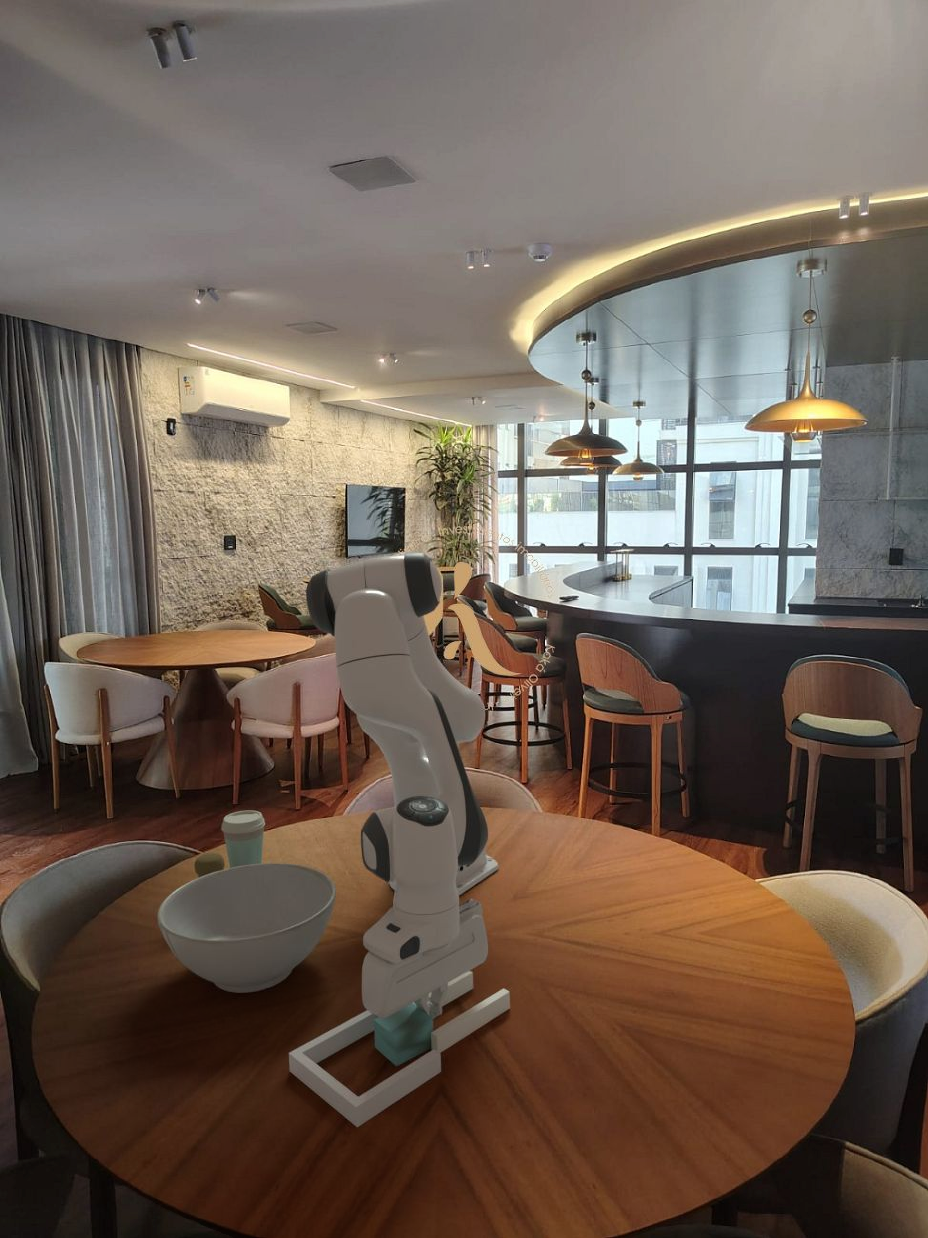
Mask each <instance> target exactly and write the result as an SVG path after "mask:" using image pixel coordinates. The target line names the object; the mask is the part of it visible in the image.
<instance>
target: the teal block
mask: <svg viewBox="0 0 928 1238" xmlns="http://www.w3.org/2000/svg"><path fill="white" fill-rule="evenodd" d="M433 1031H434V1019H433V1018H432V1017H431V1016H429V1015H428V1014H427V1013H425V1012H424V1011H422V1010H421V1009H420V1008H418V1007H417V1006H416V1005H414V1004H413V1003H411V1004H409V1005H408V1006H406V1007H404V1008H402V1009H401V1010H399V1011H397V1012H395V1013H394V1014H392V1015H390V1016H388V1017H387V1018H385V1019H381V1018H379V1017H377V1018H376V1019H374V1031H373V1032H374V1048H375V1050H377V1051H378V1052H379V1053H380V1054H382V1055H383V1056H384V1057H385V1058H386V1059H387V1060H388V1061H390V1062H391V1063H392V1064H393V1065H394V1066H396V1067H398V1066H400V1065H402V1064H403V1063H404V1064H405V1062H408V1061H409V1060H411V1059H413V1058H415V1057H417V1056H419V1055H421V1054H422V1053H425V1052H427V1051H428V1050H430V1049H432V1046H431V1032H433Z"/></svg>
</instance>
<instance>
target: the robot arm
mask: <svg viewBox="0 0 928 1238" xmlns="http://www.w3.org/2000/svg"><path fill="white" fill-rule="evenodd" d="M442 584H443V583H442V577H441V575H440V571H439V570H438V568H437V566H436V564H435V563H434V562H433V559H432V558H431V557H430V556H428V555H427V554H425V553H424V552H420V551H419V552H415V551H411V552H410V551H409V552H408V551H406V552H405V553H404V554H395V555H385V556H377V557H372V558H371V557H370V558H366V559H365V560H361V561H356V562H353V563H350V564H347V565H343V566H340V567H337V568H334V569H330V568H328V569H325V570H323V571H320V572H318V573H316V574H314V575H312V576H311V578H310V579H309V580H308V583H307V585H306V588H305V590H306V592H305V594H306V595H305V605H306V609H307V612H308V615H309V617H310V619H311V621H312V623H313V625H314V626H315V627H316V629H318V630H319V631H321V632H323V633H325V634H330V635H331V636H332V637H334V652H335V662H336V663H335V664H336V670H337V671H336V672H337V677H338V683H339V688H340V691H341V695H342V698H343V701H344V702H345V704H346V705H347V707H348V708H349V709H350V710H351V711H352V712H353V713H354V714H356V718H357V719H356V720H357V723H358V724H359V726H360V728H361V730H362V731H363V732H364V733H365V734H367V735H368V736H369V737H370V738H371V739H372V740H373V741H374V742H375V743H376V745H377V746H378V747H379V749H380V751H381V752H382V754H383V755H384V758H385V759H386V762H387V764H388V768H389V770H390V773H391V780H392V787H393V797H394V798H393V801H394V806H392V807H388V808H382V809H380V810H377V811H374V812H372V813H370V815H369V816H368V818H367V819H366V820H365V822H364V823H363V826H362V828H361V829H360V847H361V849H360V850H361V859H362V863H363V865H364V867H365V868H366V870H367V871H369V872H370V873H371V874H373V875H375V876H376V877H377V878H379V879H381V880H383V881H384V882H386V883H388V884H389V886H390V887H391V889H392V890H394V896H393V900H392V901H393V906H391V907H390V908H389V909H388V911H387V912H386V913H385V914H383V916H382V917H380V919H379V920H378V921H377V922H375V923H374V925H372V926H370V928H369V929H368V930H366V931H365V933H364V935H362V936H363V938H362V943H363V946H364V948H365V949H366V950H368V952H367V953H366V954H365V956H364V959H363V962H362V967H361V999H362V1005H363V1006H364V1008H365V1009H366V1011H367V1010H368V1011H369V1012H371V1013H372V1014H374V1015H376V1016H377V1018H378V1017H379V1018H381V1019H385V1018H387V1017H388V1016H390V1015H392V1014H394V1013H395V1012H397V1011H399V1010H401V1009H402V1008H404V1007H406V1006H408V1005H409V1004H411V1003H413V1002H414V1003H415V1004H416V1006H417V1007H418V1008H420V1009H421V1010H422V1011H424V1012H425V1013H427V1014H428V1015H429V1016H431V1017H432V1018H433V1020H434V1019H436V1018H437V1017H439V1016H440V1015H442V1014H443V1006H442V1002H443V1000H444V998H445V995H446V992H447V990H448V982H450V981H452V980H453V979H455V978H457V977H459V976H461V975H462V974H464V973H466V972H468V971H472V969H475V968H476V967H478V966H479V965H481V964H483V963H484V962H485V961H486V959H487V957H488V955H489V945H488V944H489V943H488V937H487V930H486V924H485V922H484V921H485V920H484V919H483V905H482V904H481V902H480V901H479V900H476V899H474V898H470V899H469V898H468V899H467V900H465V901H464V902H462V903H460V895H462V894H464V893H465V892H466V891H468V890H469V889H471V888H472V887H474V886H476V884H479V883H480V882H481V881H483V880H484V879H486V878H487V877H489V876H490V875H492V874H494V873H495V872H496V871H497V870H499V863H498V862H497V860H495V858H493V857H491V856H489V855H487V851H486V845H487V842H488V840H489V829H488V823H487V821H486V817H485V815H484V812H483V809H482V807H481V804H480V802H479V801H478V798H477V797H476V795H475V793H474V791H473V788H472V785H471V782H470V779H469V777H468V773H467V770H466V768H465V766H464V765H465V764H464V762H463V758H462V756H461V754H460V750H459V747H458V744H462V743H467V742H472V741H474V740H475V739H476V738H477V737H478V736H479V734H480V733H481V731H482V729H483V728H484V725H485V721H486V709H485V705H484V701H483V699H482V698H481V696H480V695H479V693H477V691H476V690H473V689H471V688H470V687H468V686H466V685H464V684H462V683H461V682H460V681H459V680H458V679H456V678H455V677H454V676H453V675H452V674H451V673H450V672H449V670H448V669H447V668H446V667H445V666H444V665H443V663H442V662H441V661H440V659H439V658H438V656H437V654H436V652H435V649H434V646H433V643H432V641H431V637H430V634H429V632H428V628H427V625H426V620H425V617H424V616H426V615H428V614H431V613H432V612H434V611H435V610H436V609H437V607H438V606H439V604H440V603H441V595H442V590H443V589H442ZM431 992H432V993H431ZM429 993H431V997H430V1000H429V1001H427V1002H426V1001H425V1000H428V999H429Z"/></svg>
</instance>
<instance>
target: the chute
mask: <svg viewBox="0 0 928 1238" xmlns="http://www.w3.org/2000/svg"><path fill="white" fill-rule="evenodd" d="M473 989H474V972H473V971H472V970H469V971H468V972H466V973H464V974H462V975H461V976H459V977H457V978H455V979H453V980H452V981H450V982H448V990H447V992H446V995H445V998H444V1000H443V1002H442V1007H444V1006H446V1005H447V1004H449V1003H451V1002H453V1001H455V1000H456V999H457V998H459V997H461V996H463V995H464V994H466V993H468V992H470V991H471V990H473ZM431 993H432V992H431ZM431 993H429V999H428V1000H425V1001H426V1002H427V1001H429V1000H430V997H431ZM413 1004H414V1005H416V1004H415V1003H414V1002H413ZM509 1009H511V995H510V991H509V990H507V989H506V988H502V989H500V990H499V991H497V992H496V993H494V994H492V995H490V996H489V997H486V998H485V999H484V1000H482V1001H481V1002H479V1003H477V1004H475V1005H474V1006H472V1007H470V1008H469V1009H467V1010H466V1011H464V1012H463V1013H461V1014H459V1015H457V1016H455V1018H454V1017H453V1019H451V1020H449V1021H448V1022H446V1023H444V1024H443V1025H441V1026H439V1027H437V1028H436V1029H435V1030H433V1032H431V1046H432V1048H431V1051H432V1050H433V1049H435V1050H436V1051H438V1052H439V1053H442V1052H444V1051H445V1050H447V1049H449V1048H450V1047H451V1046H453V1045H455V1044H456V1043H458V1042H460V1041H461V1040H463V1039H465V1038H466V1037H467V1036H469V1035H471V1034H472V1033H474V1032H475V1031H477V1030H479V1029H480V1028H481V1027H483V1026H485V1025H486V1024H488V1023H489V1022H491V1021H492V1020H493V1019H495V1018H496V1017H498V1016H501V1015H502V1014H503V1013H505V1012H506V1011H508V1010H509Z"/></svg>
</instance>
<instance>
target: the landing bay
mask: <svg viewBox="0 0 928 1238" xmlns="http://www.w3.org/2000/svg"><path fill="white" fill-rule="evenodd" d="M376 1018H378V1017H377V1016H376V1015H374V1014H372V1013H371V1012H369V1011H368V1010H367V1009H366V1010H364V1011H363V1012H361V1013H359V1014H357V1015H356V1016H354V1017H352V1018H350V1019H349V1020H347V1021H345V1022H343V1023H341V1024H340V1025H337V1026H335V1027H334V1028H332V1029H330V1030H329V1031H328V1030H327V1032H325V1033H323V1034H321V1035H319V1036H317V1037H316V1038H313V1039H312V1040H310V1041H308V1042H306V1043H305V1044H303V1045H301V1046H299V1047H297V1048H295V1049H294V1050H292V1051H290V1052H288V1063H289V1066H288V1068H289V1072H290V1073H291V1074H292V1075H294V1076H295V1078H297V1079H298V1080H299V1081H301V1082H302V1083H303V1084H304V1085H306V1086H307V1087H308V1088H309V1089H310V1090H312V1091H313V1092H314V1093H315V1094H316V1095H318V1096H319V1097H320V1098H321V1099H322V1100H324V1101H325V1102H326V1103H327V1104H329V1105H330V1106H331V1107H332V1108H333V1109H335V1110H336V1111H337V1112H338V1113H339V1114H341V1116H343V1118H345V1119H347V1120H348V1121H349V1122H351V1124H353V1125H354V1126H355V1128H359V1127H360V1126H362V1125H363V1124H365V1123H366V1122H368V1121H369V1120H371V1119H373V1118H374V1117H375V1116H377V1115H378V1114H379V1113H382V1112H383V1111H384V1110H385V1109H387V1108H388V1107H390V1106H391V1105H393V1104H395V1103H396V1102H398V1101H399V1100H401V1099H402V1098H403V1097H405V1096H407V1095H408V1094H410V1093H411V1092H413V1091H414V1090H416V1089H418V1088H419V1087H420V1086H422V1085H423V1084H425V1083H426V1082H428V1081H429V1080H431V1079H432V1078H434V1077H435V1076H437V1075H438V1074H441V1072H442V1062H441V1061H442V1058H441V1053H442V1052H441V1053H439V1052H438V1051H436V1050H435V1049H433V1050H432V1049H431V1051H429V1052H427V1053H426V1054H424V1055H422V1056H420V1057H419V1058H418V1059H416V1060H414V1061H413V1062H412V1063H410V1064H408V1065H406V1066H405V1067H404V1068H402V1069H400V1070H399V1071H397V1072H395V1073H394V1074H392V1075H391V1076H389V1077H388V1078H386V1079H384V1080H382V1081H381V1082H380V1083H378V1084H377V1085H375V1086H374V1087H372V1088H370V1089H368V1090H367V1091H366V1092H363V1093H362V1094H360V1095H359V1096H358V1095H357V1094H356V1093H354V1092H352V1091H351V1090H350V1089H349V1088H347V1086H345V1085H344V1084H342V1083H341V1082H340V1081H338V1080H337V1079H336V1078H335V1077H333V1075H331V1074H330V1073H328V1071H326V1070H325V1069H323V1068H322V1067H321V1066H319V1065H318V1063H320V1062H321V1061H323V1060H325V1059H327V1058H329V1057H330V1056H332V1055H334V1054H335V1053H337V1052H339V1051H341V1050H342V1049H344V1048H346V1047H348V1046H349V1045H352V1044H353V1043H354V1042H355V1043H356V1041H358V1040H360V1039H361V1038H364V1037H365V1036H367V1035H369V1034H370V1033H372V1032H374V1019H376Z"/></svg>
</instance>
